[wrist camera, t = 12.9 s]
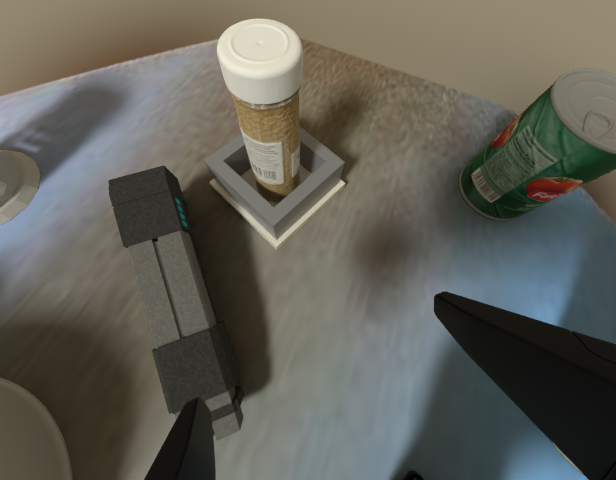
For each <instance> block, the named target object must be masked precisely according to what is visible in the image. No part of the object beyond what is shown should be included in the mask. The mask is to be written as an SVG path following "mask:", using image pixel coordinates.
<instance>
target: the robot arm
mask: <svg viewBox="0 0 616 480" xmlns="http://www.w3.org/2000/svg"><path fill="white" fill-rule="evenodd" d="M434 312H435V315H436V316H437V318H438V319H439V320H440V321H441V323H442V324H443V325H444V326H445V328H446V329H447V330H448V331H449V333H450V334H451V335H452V336H453V338H454V339H455V340H456V341H457V343H458V344H459V345H460V346H461V347H462V349H463V350H464V351H465V352H466V353H467V354H468V355H469V356H470V357H471V358H472V359H473V360H474V361H475V362H476V364H477V365H478V366H479V367H480V368H481V369H482V370H483V371H484V372H485V373H486V374H487V375H488V376H489V377H490V378H491V379H492V380H493V381H494V382H495V383H496V384H497V385H498V386H499V387H500V388H501V389H502V390H503V391H504V392H505V394H506V395H507V396H508V397H509V398H510V399H511V400H512V401H513V402H514V403H515V404H516V405H517V406H518V407H519V408H520V409H521V410H522V411H523V412H524V413H525V414H526V415H527V416H528V417H529V418H530V419H531V420H532V421H533V422H534V424H535V425H536V426H537V427H538V428H539V429H540V430H541V431H542V432H543V433H544V434H545V435H546V436H547V437H548V438H549V439H550V440H551V441H552V442H553V443H554V444H555V445H556V446H557V447H558V448H559V449H560V450H561V451H562V452H563V454H564V455H565V456H566V457H567V458H568V459H569V460H570V461H571V462H572V463H573V464H574V465H575V466H576V467H577V468H578V469H579V470H580V471H581V472H582V473H583V474H584V475H585V476H586V477H587V478H588V479H589V480H616V344H613V343H610V342H606V341H603V340H600V339H596V338H593V337H590V336H586V335H583V334H580V333H577V332H574V331H572V332H571V331H570V330H567V329H564V328H561V327H558V326H554V325H551V324H548V323H545V322H542V321H538V320H535V319H532V318H529V317H526V316H522V315H519V314H516V313H513V312H510V311H507V310H503V309H500V308H497V307H494V306H491V305H487V304H484V303H481V302H478V301H475V300H471V299H468V298H465V297H462V296H459V295H455V294H452V293H449V292H441V293H439V294H436V295H435V296H434ZM414 478H417V480H424V479H423V478H422V477H421V476H420V475H419V474H418V473H417V472H416V471H413V470H412V471H410V472H409V473H408V474H407V476H406V477H405V479H404V480H413V479H414ZM144 480H215V454H214V440H213V426H212V415H211V411H210V409H209V408H208V407H207V405H206V404H205V403H204V401H203V400H202V399H201V398H200V397H196V398H194V399H192V400H189V401H188V402H186V403H185V405H184V406H183V408H182V410H181V412H180V414H179V416H178V418H177V419H176V421H175V423H174V425H173V427H172V429H171V431H170V432H169V434H168V436H167V438H166V440H165V442H164V444H163V445H162V447H161V449H160V451H159V453H158V455H157V457H156V458H155V460H154V462H153V464H152V466H151V468H150V470H149V471H148V473H147V475H146V477H145V479H144Z"/></svg>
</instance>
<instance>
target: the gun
mask: <svg viewBox="0 0 616 480" xmlns="http://www.w3.org/2000/svg"><path fill="white" fill-rule="evenodd" d="M109 195H110V199H111V203H112V206H113V207H114V208H113V210H114V213H115V217H116V221H117V224H118V228H119V231H120V235H121V239H122V242H123V246H124V247H126V248H128V250H129V254H130V257H131V261H132V265H133V268H134V272H135V276H136V279H137V283H138V286H139V290H140V294H141V297H142V301H143V305H144V308H145V312H146V315H147V319H148V323H149V326H150V330H151V334H152V337H153V341H154V344H155V349H153V350H152V352H153V356H154V360H155V363H156V367H157V371H158V374H159V378H160V382H161V385H162V389H163V393H164V396H165V400H166V404H167V407H168V411H169V414H170V413H173V414H175V416H176V419H177V418H178V416H179V414H180V412H181V410H182V408H183V406H184V405H185V403H186V402H188V401H189V400H192V399H194V398H196V397H200V398H201V399H202V400H203V401H204V403H205V404H206V405H207V407H208V408H209V409H210V411H211V415H212V426H213V436H214V434H215V437H216V440H219V439H221V438H224V437H226V436H228V435H230V434H232V433H235V432H237V431H239V430H240V428H241V424H242V421H243V414H242V411H241V407H240V405H241V402H242V399H243V396H244V392H243V389H242V386H235V384H236V382H237V380H238V377H239V375H240V373H239V370H238V367H237V363H236V360H235V357H234V354H233V351H232V347H231V344H230V341H229V338H228V334H227V331H226V328H225V325H224V322H223V321H221V322H217V318H216V315H215V312H214V309H213V305H212V302H211V299H210V296H209V292H208V289H207V286H206V283H205V279H204V277H206V276H205V273H204V270H203V267H202V263H201V260H200V257H199V254H198V250H197V247H196V244H195V241H194V237H193V233H192V230H191V227H190V224H189V220H188V215H187V213H186V202H185V200H184V198H183V195H182V192H181V189H180V185H179V182H178V179H177V178H176V177H175V176H174V175H173V174H172V173H171V172H170V171H169V170H168V169H167V168H166V167H165V166H160V167H157V168H153V169H149V170H145V171H142V172H138V173H134V174H130V175H127V176H123V177H119V178H115V179H112V180H109Z"/></svg>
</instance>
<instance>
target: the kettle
mask: <svg viewBox="0 0 616 480" xmlns="http://www.w3.org/2000/svg"><path fill="white" fill-rule="evenodd" d="M0 480H73V476H72V469H71V463H70V458H69V454H68V450H67V447H66V444H65V441H64V438H63V435H62V433H61V431H60V429H59V427H58V425H57V423H56V421H55V420H54V418H53V416H52V415H51V414H50V412H49V411H48V410H47V408H46V407H45V406H44V405H43V404H42V403H41V401H39V400H38V399H37V398H36V397H35V396H34V395H33V394H31V393H30V392H29V391H27V390H26V389H24V388H23V387H21V386H19V385H17V384H15V383H13V382H11V381H9V380H6V379H3V378H0Z"/></svg>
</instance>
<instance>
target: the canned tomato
mask: <svg viewBox="0 0 616 480" xmlns="http://www.w3.org/2000/svg"><path fill="white" fill-rule="evenodd" d="M614 169H616V74H614V73H610V72H607V71H604V70H598V69H589V68H583V69H575V70H572V71H568V72H566V73H565V74H563V75H561V76H560V77H559V78H558V79H557V80H556V81H555V82H554V84H553V85H552V86H551V87H550V88H548V90H546V91H545V92H544V93H543V94H542V95H541V96H539V98H538V99H536V101H535V102H534V103H532V104H531V105H530V106H529V107H528V108H527V109H526V110H525V111H524V112H523V113H522V114H520V115H519V117H518V118H517V119H515V120H514V121H513V122H512V123H511V124H510V125H509V126H508V127H507V128H506V129H505V130H504V131H503V132H502V133H500V134H499V135H498V136H497V137H496V138H495V139H494V140H493V141H492V142H491V143H490V144H489V145H488V146H487V147H486V148H485V149H483V150H482V151H481V152H480V153H479V154H478V155H477V156H476V157H475V158H474V159H473V160H472V161H471V162H470V163H469V164H467V165H466V166H465V167H464V168H463V169H462V171H461V173H460V176H459V187H460V191H461V194H462V196H463V198H464V199H465V201H466V202H467V203H468V204H469V205H470V206H471V208H473V209H474V210H475V211H476V212H478V213H480V214H481V215H483V216H485V217H488V218H490V219H494V220H499V221H507V220H513V219H515V218H518V217H520V216H521V215H523V214H525V213H527V212H529V211H531V210H533V209H535V208H537V207H539V206H541V205H543V204H545V203H548V202H550V201H551V200H553V199H556V198H558V197H559V196H561V195H564V194H566V193H568V192H569V191H572V190H574V189H576V188H578V187H580V186H582V185H584V184H587V183H588V182H590V181H592V180H594V179H597V178H598V177H600V176H602V175H604V174H607V173H609V172H610V171H612V170H614Z"/></svg>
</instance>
